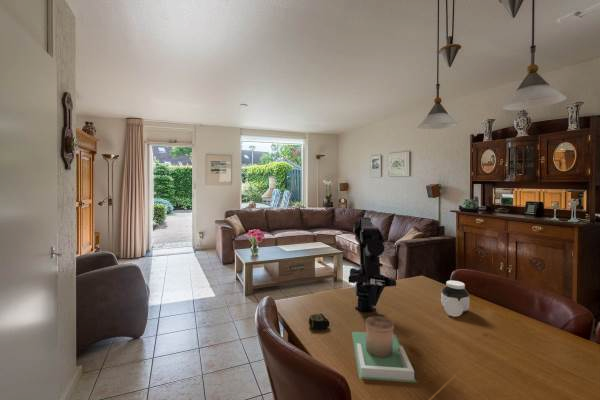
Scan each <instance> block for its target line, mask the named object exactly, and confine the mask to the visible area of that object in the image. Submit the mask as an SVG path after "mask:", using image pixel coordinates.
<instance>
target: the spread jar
mask: <svg viewBox="0 0 600 400" xmlns="http://www.w3.org/2000/svg"><path fill="white" fill-rule="evenodd" d="M465 287H466V284H465V283H464V282H462V281H459V280H447V281H446V283H445V286H444V287H443V288H441V294H440V295H441V296H440V301H441V302H440V303H441V306H442V307H443V309H444V311H445V312H446V314H448V315H449V316H450V317H459V316H461V315H462V314H464V313H466V312H467V311H468V310H469V307H470V294H469V292H468V291H467V289H466V288H465Z"/></svg>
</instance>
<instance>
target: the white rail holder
mask: <svg viewBox="0 0 600 400" xmlns="http://www.w3.org/2000/svg"><path fill="white" fill-rule="evenodd" d="M398 354H399V357H400V359H401V361H402V364H403V366H404V368H398V367H382V366H366V365H365V362H364V358H363V353H362V348H361V344H359V343H357V357H358V362H359V368H360V374H361V377H371V378H386V379H400V380H414V377H415V369H414V368H413V366H412V364H411V361H410V359H409V357H408V355H407V352H406V351H405V349H404V347H403V345H400V346H398Z"/></svg>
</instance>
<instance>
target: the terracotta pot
mask: <svg viewBox="0 0 600 400" xmlns="http://www.w3.org/2000/svg"><path fill="white" fill-rule="evenodd" d="M365 326H366V329H365V330H366V350H367V352H368V353H369V354H370V355H372V356H374V357H378V358H387V357H390V356H391V355H392V350H393V334H394V328H395V323H394V322H393V320H391V319H390V318H386V317H385V316H384V317H383V316H377V315H376V316H375V315H374V316H369V317H367V318H366V319H365Z"/></svg>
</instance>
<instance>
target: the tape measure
mask: <svg viewBox="0 0 600 400" xmlns="http://www.w3.org/2000/svg"><path fill="white" fill-rule="evenodd" d="M308 324H309V326H310V328H312V329H313V330H323V329H326V328H329V327H330V321H329V319H328V318H327V317H325V315H324V314H323V313H313V314H311V315H310V316H309V317H308Z"/></svg>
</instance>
